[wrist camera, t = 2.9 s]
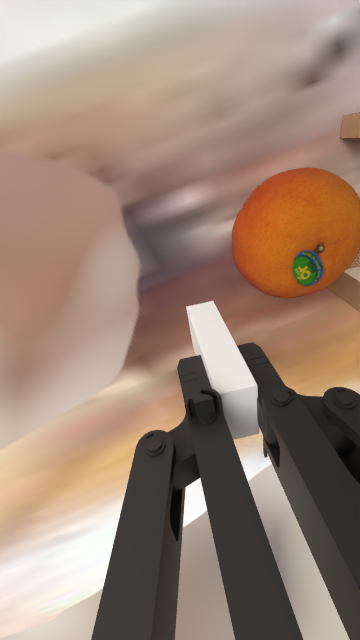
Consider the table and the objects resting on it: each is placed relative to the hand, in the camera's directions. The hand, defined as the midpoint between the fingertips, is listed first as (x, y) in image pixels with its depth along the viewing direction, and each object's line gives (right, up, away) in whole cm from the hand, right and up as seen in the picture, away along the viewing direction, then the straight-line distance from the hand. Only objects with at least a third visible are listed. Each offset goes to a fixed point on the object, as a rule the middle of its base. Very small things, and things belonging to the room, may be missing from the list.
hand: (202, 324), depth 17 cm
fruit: (+8, +10, +12) cm, 17 cm away
